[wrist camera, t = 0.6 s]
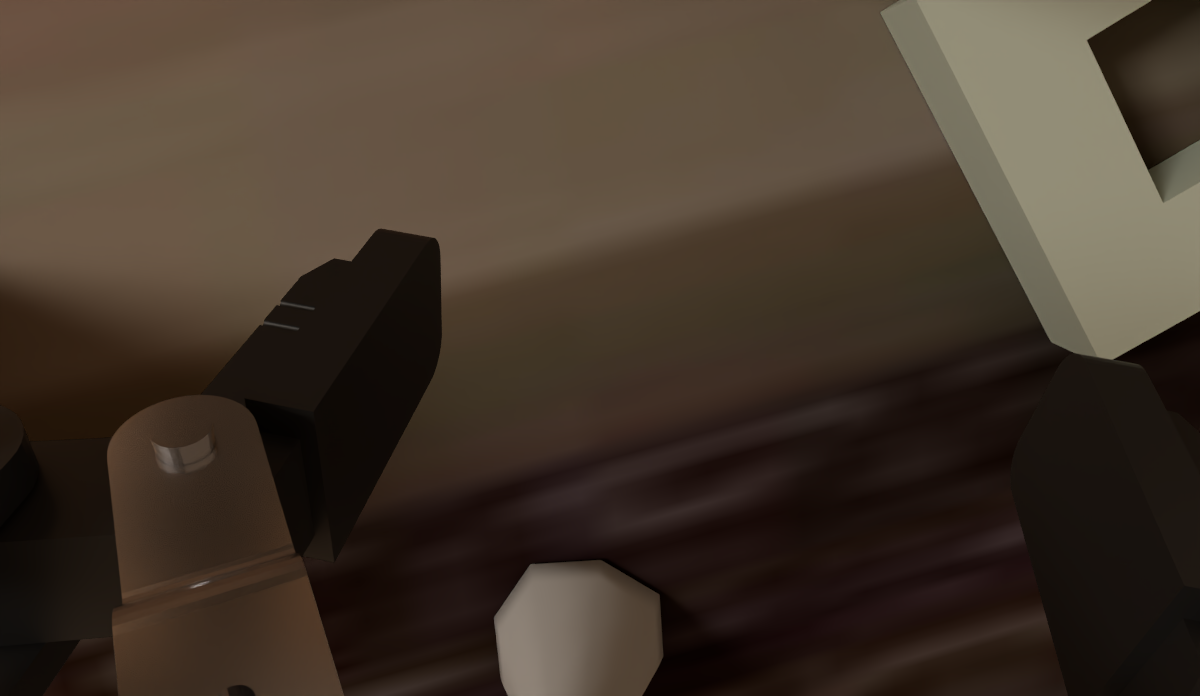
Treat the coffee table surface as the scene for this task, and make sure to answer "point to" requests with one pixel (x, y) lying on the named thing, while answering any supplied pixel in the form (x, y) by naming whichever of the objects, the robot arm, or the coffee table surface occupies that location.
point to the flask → (578, 632)
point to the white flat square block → (1059, 165)
